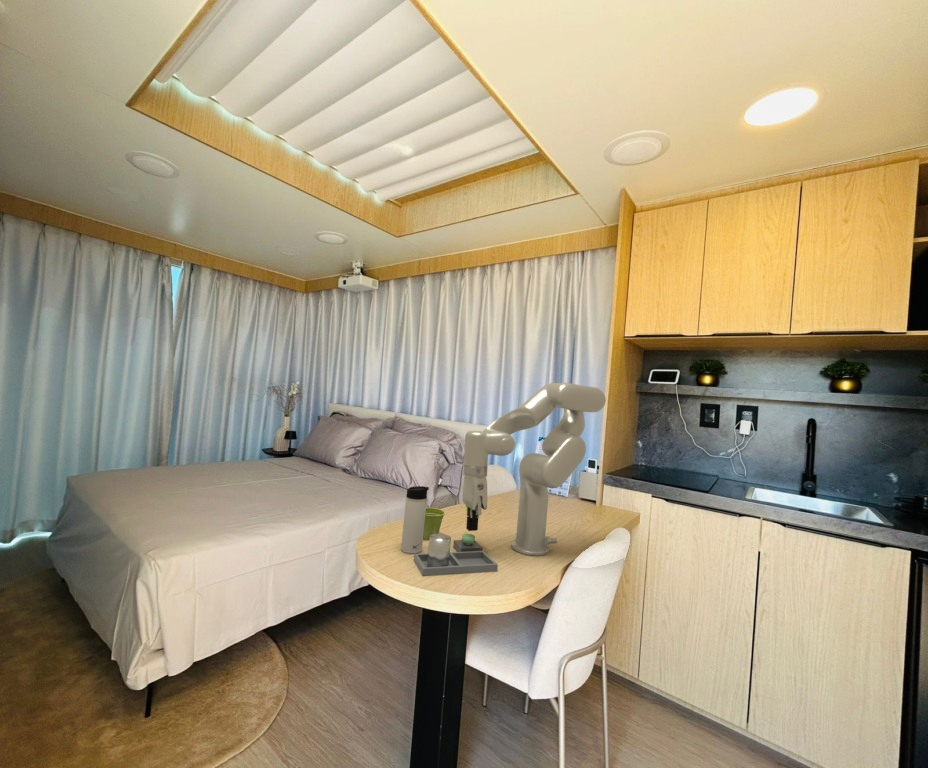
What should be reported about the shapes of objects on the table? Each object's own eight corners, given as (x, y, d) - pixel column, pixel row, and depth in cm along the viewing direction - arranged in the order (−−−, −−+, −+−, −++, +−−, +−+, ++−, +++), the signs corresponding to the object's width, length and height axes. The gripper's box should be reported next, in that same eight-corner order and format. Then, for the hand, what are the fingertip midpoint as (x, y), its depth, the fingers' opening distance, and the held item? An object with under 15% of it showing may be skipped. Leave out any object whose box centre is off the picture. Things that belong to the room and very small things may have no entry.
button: (470, 548, 127) (472, 533, 127) (475, 553, 123) (477, 538, 123) (459, 549, 125) (460, 533, 125) (463, 554, 121) (464, 538, 122)
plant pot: (441, 543, 131) (444, 516, 131) (413, 540, 131) (415, 513, 132) (443, 534, 140) (445, 509, 141) (416, 531, 140) (419, 506, 141)
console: (473, 549, 128) (474, 539, 129) (481, 557, 122) (482, 547, 122) (452, 549, 126) (453, 540, 126) (460, 558, 119) (461, 548, 120)
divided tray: (482, 559, 120) (483, 550, 121) (497, 574, 111) (497, 564, 111) (413, 563, 113) (414, 553, 113) (422, 579, 104) (423, 568, 104)
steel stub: (444, 561, 114) (447, 533, 114) (451, 570, 108) (454, 540, 109) (424, 562, 112) (427, 534, 112) (430, 572, 106) (432, 541, 107)
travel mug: (418, 558, 117) (425, 489, 118) (397, 554, 118) (404, 486, 119) (425, 551, 123) (431, 485, 124) (404, 547, 124) (411, 482, 125)
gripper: (496, 475, 120) (492, 537, 119) (477, 466, 134) (474, 521, 133) (472, 475, 117) (469, 539, 116) (456, 466, 131) (452, 523, 130)
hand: (471, 529), depth 125 cm, fingers closed
